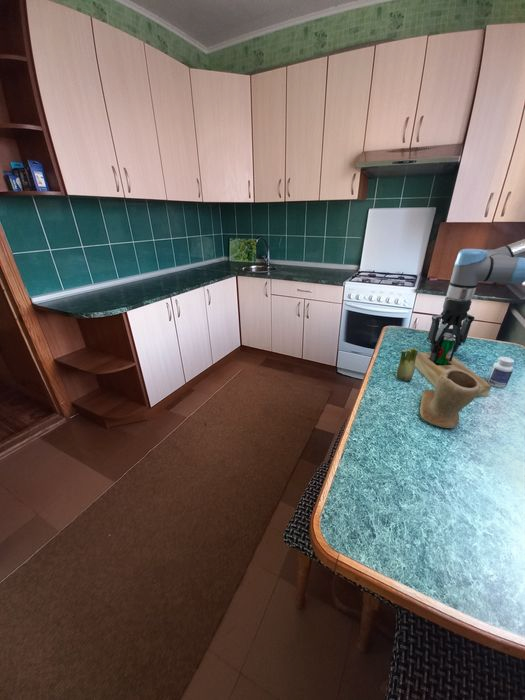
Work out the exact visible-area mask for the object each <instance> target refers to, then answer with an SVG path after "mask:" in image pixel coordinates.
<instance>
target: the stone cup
mask: <svg viewBox="0 0 525 700" xmlns="http://www.w3.org/2000/svg"><path fill="white" fill-rule="evenodd" d="M479 390H480V384H479V382H478V381H477V379H476V378H475V377H473V376H472V375H471V374H469V373H467V372H465V371H463V370H460V369H447V370H445V371H443V372H442V374H441V375H440V377H439V379H438V381H437V383H436V386H435V387H434V389H425V390H423V392H422V395H421V400H420V407H419V413H420V418H421V419H422V420H424V421H425V422H427V423H428V424H431V425H433V426H436V427H438V428H444V429H455V428H456V427H457V426H458V424H459V420H460V412H461V411H462V410H463V409H464V408H465V407H467V406H468V405H469V404H470V403H472V402H473V401H474V400H475V399H476V398H477V397H476V395H477V394H478V392H479Z"/></svg>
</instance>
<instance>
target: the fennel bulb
mask: <svg viewBox="0 0 525 700" xmlns="http://www.w3.org/2000/svg"><path fill="white" fill-rule="evenodd" d="M417 353H419V349H417V348H412V347H410V348H409V349H407V351H406V350H405V349H402V350H401V353H400V359H399V362H398V366H397V369H396V378H397V379H398V380H400V381H403V382H410V381H412V380H413V377H414V374H415V369H416V367H415V359H416V356H417Z"/></svg>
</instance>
